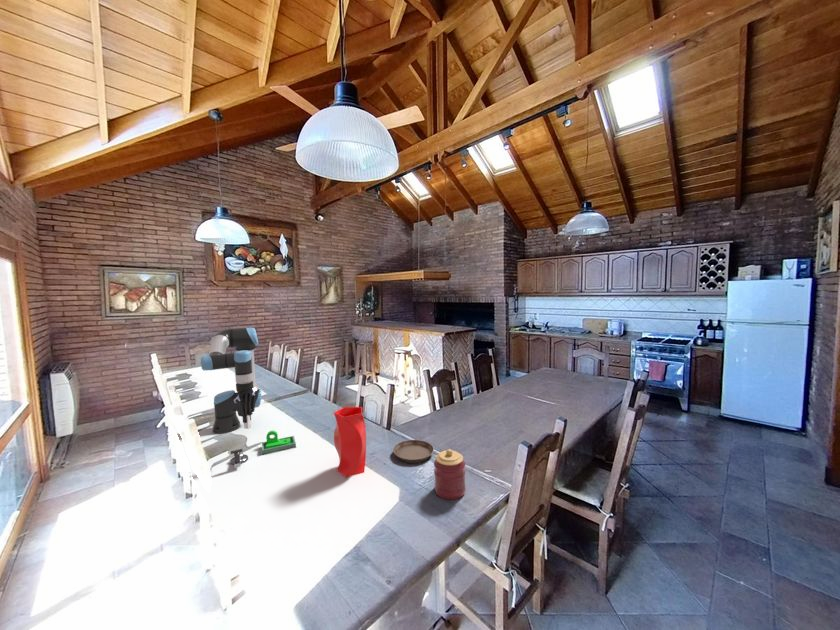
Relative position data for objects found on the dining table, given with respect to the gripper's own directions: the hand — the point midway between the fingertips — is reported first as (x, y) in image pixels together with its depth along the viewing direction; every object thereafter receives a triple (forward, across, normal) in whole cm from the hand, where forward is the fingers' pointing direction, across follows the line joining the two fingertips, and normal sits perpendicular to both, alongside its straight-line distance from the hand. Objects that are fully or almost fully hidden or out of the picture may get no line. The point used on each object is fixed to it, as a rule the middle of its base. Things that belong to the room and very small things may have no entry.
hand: (247, 427), depth 162 cm
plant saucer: (+18, -30, +77) cm, 85 cm away
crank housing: (+18, +1, -6) cm, 19 cm away
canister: (+17, -6, +103) cm, 104 cm away
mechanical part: (+17, -17, +2) cm, 25 cm away
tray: (+18, -17, +3) cm, 25 cm away
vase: (+17, -8, +54) cm, 57 cm away
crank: (+16, +4, -3) cm, 17 cm away
